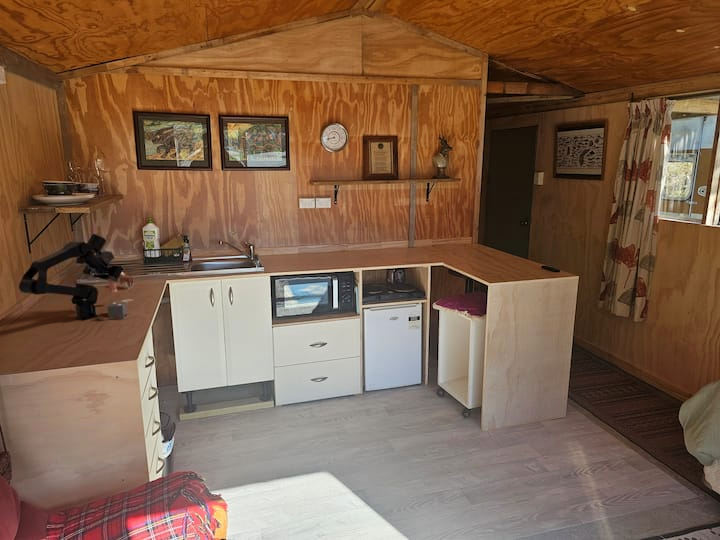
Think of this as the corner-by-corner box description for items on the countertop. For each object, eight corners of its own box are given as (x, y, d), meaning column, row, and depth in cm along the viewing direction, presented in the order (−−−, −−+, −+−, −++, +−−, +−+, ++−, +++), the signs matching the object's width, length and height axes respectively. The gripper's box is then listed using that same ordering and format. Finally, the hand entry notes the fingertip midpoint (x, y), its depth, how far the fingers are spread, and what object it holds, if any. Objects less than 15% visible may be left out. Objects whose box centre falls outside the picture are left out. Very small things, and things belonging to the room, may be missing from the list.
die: (123, 319, 218) (122, 305, 216) (108, 319, 216) (107, 305, 215) (127, 315, 223) (125, 301, 222) (112, 315, 222) (111, 302, 221)
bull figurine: (123, 284, 277) (122, 270, 275) (136, 288, 268) (134, 273, 267) (116, 286, 273) (114, 271, 272) (128, 290, 265) (126, 275, 263)
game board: (115, 309, 231) (115, 306, 231) (105, 308, 233) (105, 305, 233) (136, 302, 243) (136, 299, 243) (126, 301, 245) (126, 298, 245)
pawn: (111, 293, 230) (109, 269, 228) (106, 292, 232) (104, 268, 230) (119, 291, 233) (117, 268, 231) (114, 290, 235) (112, 267, 233)
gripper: (118, 247, 221) (138, 267, 234) (85, 245, 227) (107, 264, 240) (105, 268, 216) (127, 288, 228) (72, 265, 222) (95, 284, 234)
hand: (114, 280), depth 233 cm, fingers closed on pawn, 3 cm apart
